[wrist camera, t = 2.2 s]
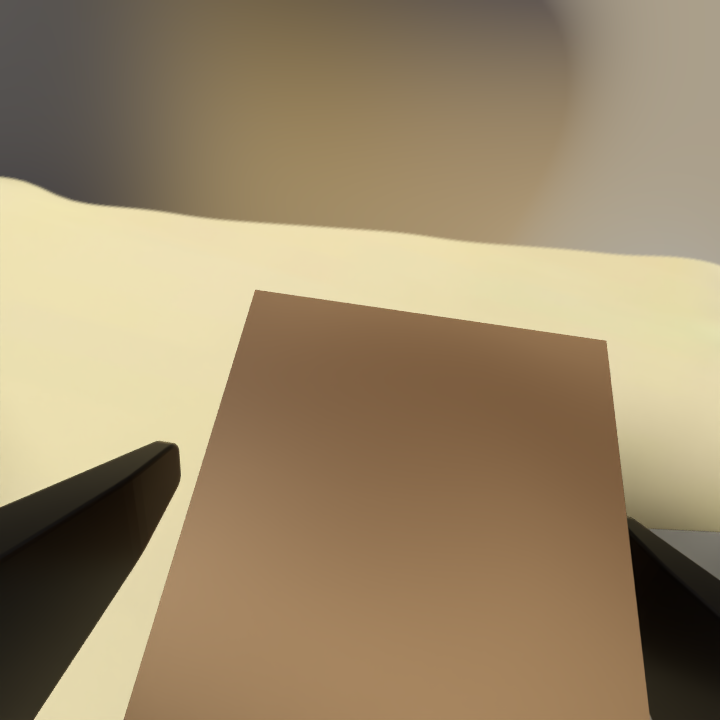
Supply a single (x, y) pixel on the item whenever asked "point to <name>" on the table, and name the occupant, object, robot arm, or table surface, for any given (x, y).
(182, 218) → the table surface
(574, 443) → the walnut block
